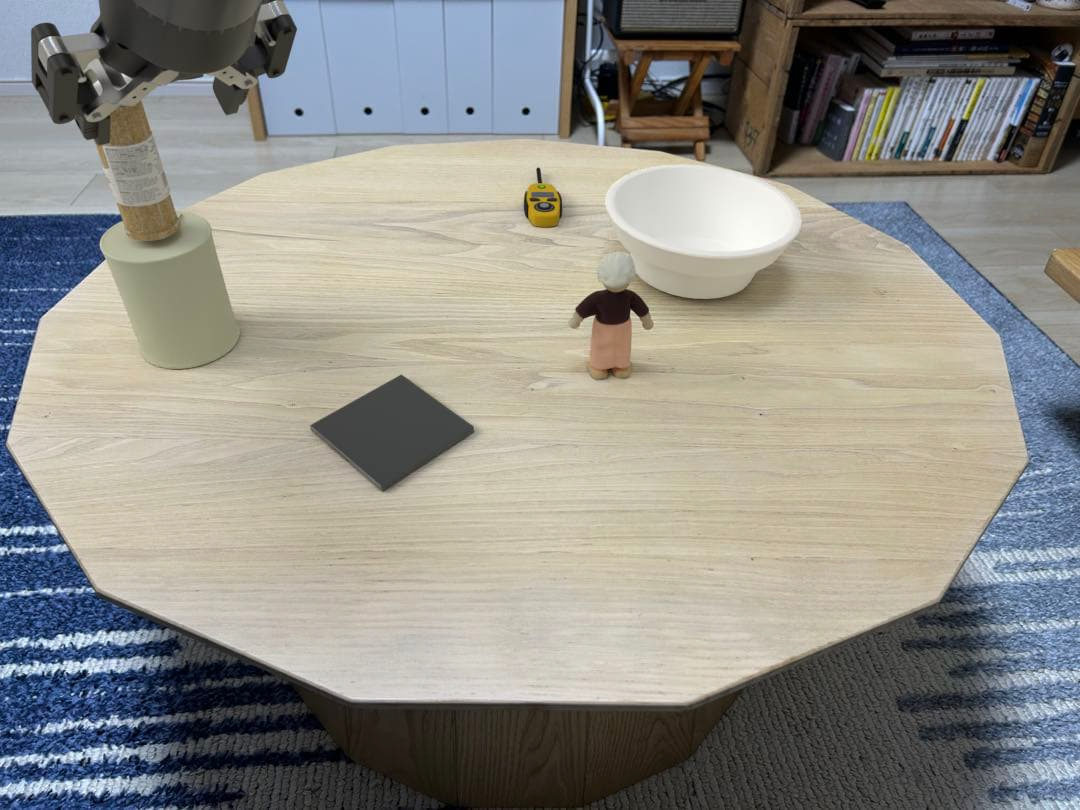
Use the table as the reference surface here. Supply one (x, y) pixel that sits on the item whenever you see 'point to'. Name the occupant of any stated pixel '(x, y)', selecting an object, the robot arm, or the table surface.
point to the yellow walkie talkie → (542, 203)
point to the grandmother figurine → (612, 317)
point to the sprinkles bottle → (137, 174)
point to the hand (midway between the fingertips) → (162, 116)
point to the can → (173, 293)
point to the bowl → (700, 227)
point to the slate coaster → (391, 431)
